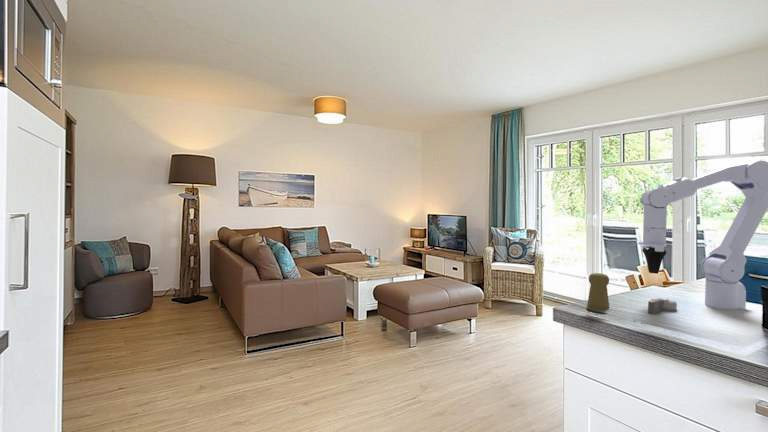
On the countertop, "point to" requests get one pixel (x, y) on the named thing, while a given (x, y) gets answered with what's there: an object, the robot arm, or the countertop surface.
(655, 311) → the peg dial
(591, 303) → the cork
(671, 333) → the countertop surface
